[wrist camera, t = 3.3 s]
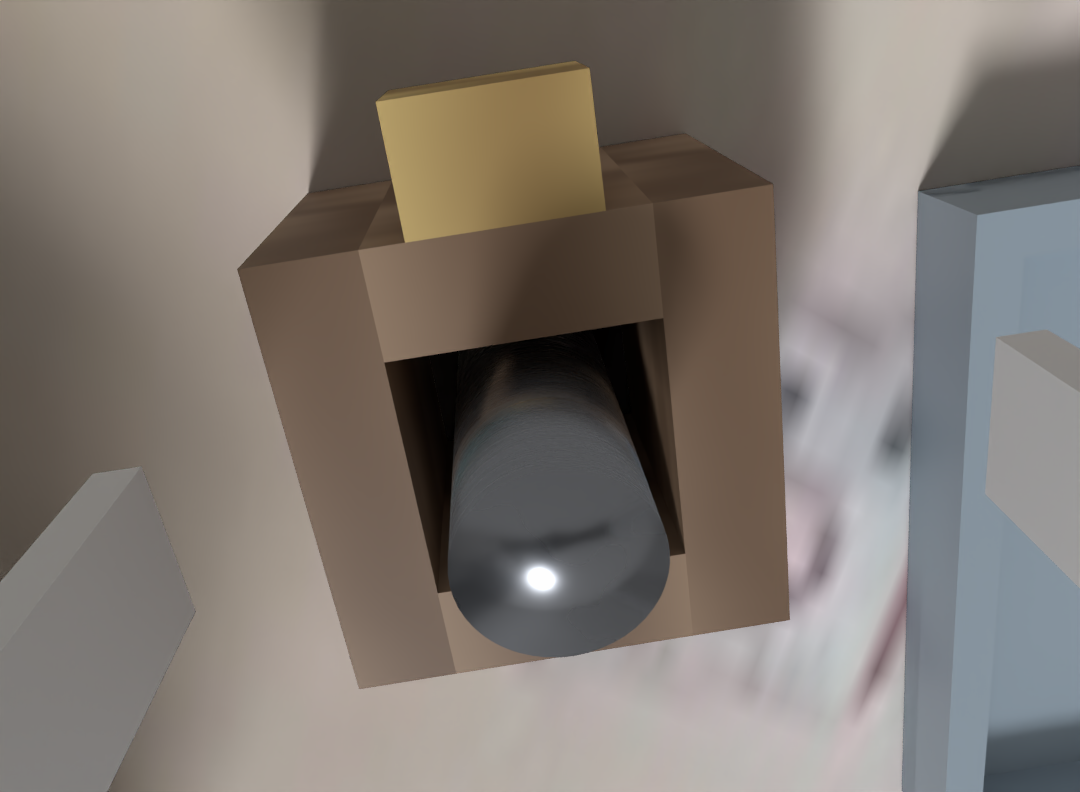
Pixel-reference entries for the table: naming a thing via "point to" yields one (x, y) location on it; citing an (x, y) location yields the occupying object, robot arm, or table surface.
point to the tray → (986, 500)
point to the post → (549, 501)
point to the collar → (514, 315)
